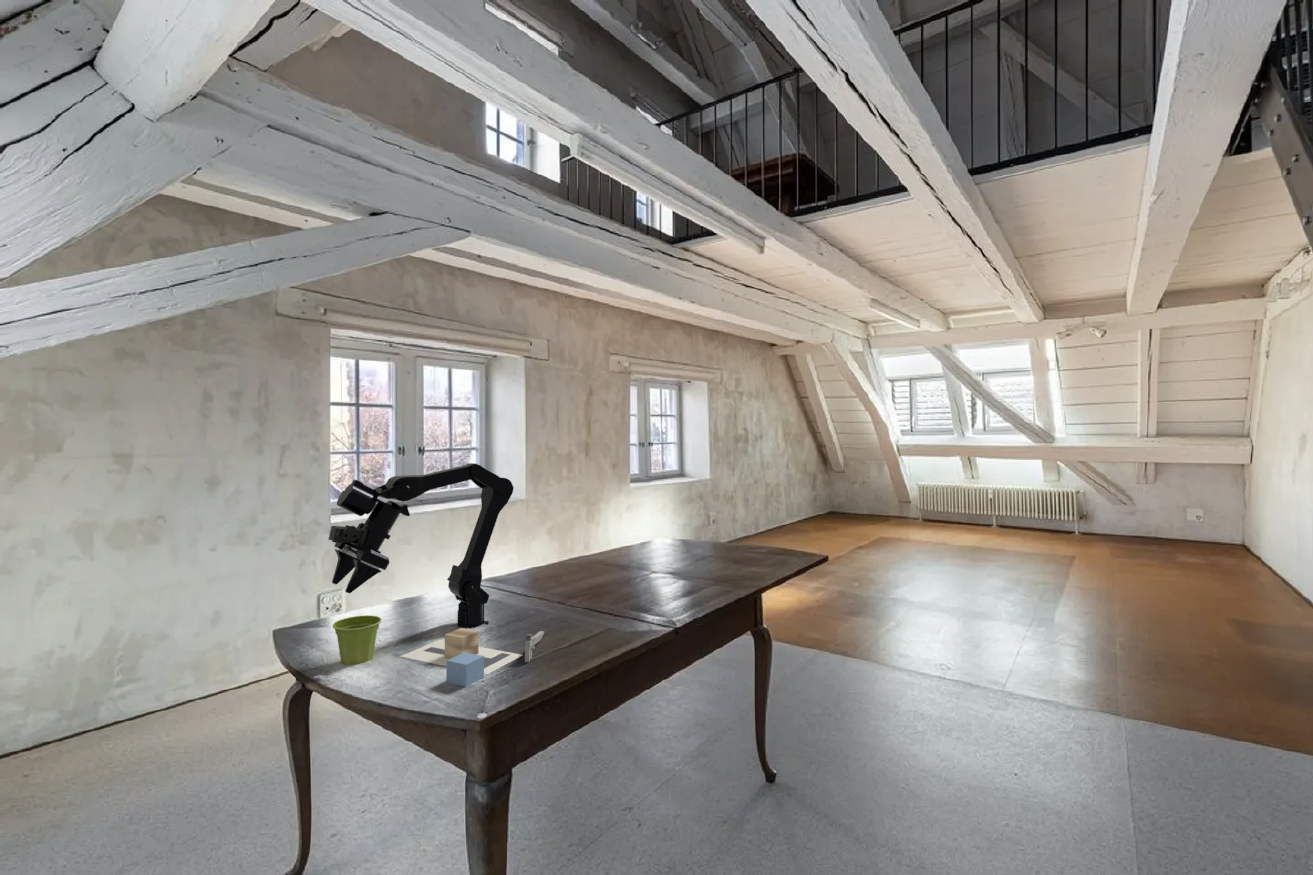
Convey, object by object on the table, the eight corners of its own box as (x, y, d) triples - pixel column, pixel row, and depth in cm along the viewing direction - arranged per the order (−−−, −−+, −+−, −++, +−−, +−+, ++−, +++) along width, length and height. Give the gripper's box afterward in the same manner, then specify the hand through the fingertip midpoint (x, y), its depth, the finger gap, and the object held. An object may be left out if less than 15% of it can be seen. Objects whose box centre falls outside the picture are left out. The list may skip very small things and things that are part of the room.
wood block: (460, 650, 134) (461, 627, 134) (478, 653, 132) (478, 630, 132) (444, 657, 129) (444, 634, 129) (462, 661, 127) (462, 637, 127)
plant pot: (387, 662, 128) (388, 621, 128) (340, 673, 121) (340, 631, 121) (372, 651, 135) (372, 612, 135) (326, 661, 128) (326, 621, 128)
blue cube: (464, 676, 120) (464, 652, 120) (483, 681, 118) (484, 656, 118) (446, 686, 116) (446, 660, 116) (466, 690, 114) (466, 664, 114)
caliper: (529, 666, 127) (529, 637, 127) (524, 666, 127) (524, 637, 127) (544, 635, 147) (544, 609, 147) (540, 635, 147) (540, 609, 147)
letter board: (440, 642, 141) (440, 639, 141) (523, 657, 131) (523, 654, 131) (399, 658, 130) (399, 656, 130) (486, 677, 120) (486, 674, 120)
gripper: (333, 505, 140) (294, 566, 135) (361, 515, 127) (319, 583, 121) (375, 525, 147) (339, 584, 142) (405, 536, 134) (367, 602, 128)
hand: (340, 588), depth 133 cm, fingers open, 9 cm apart
